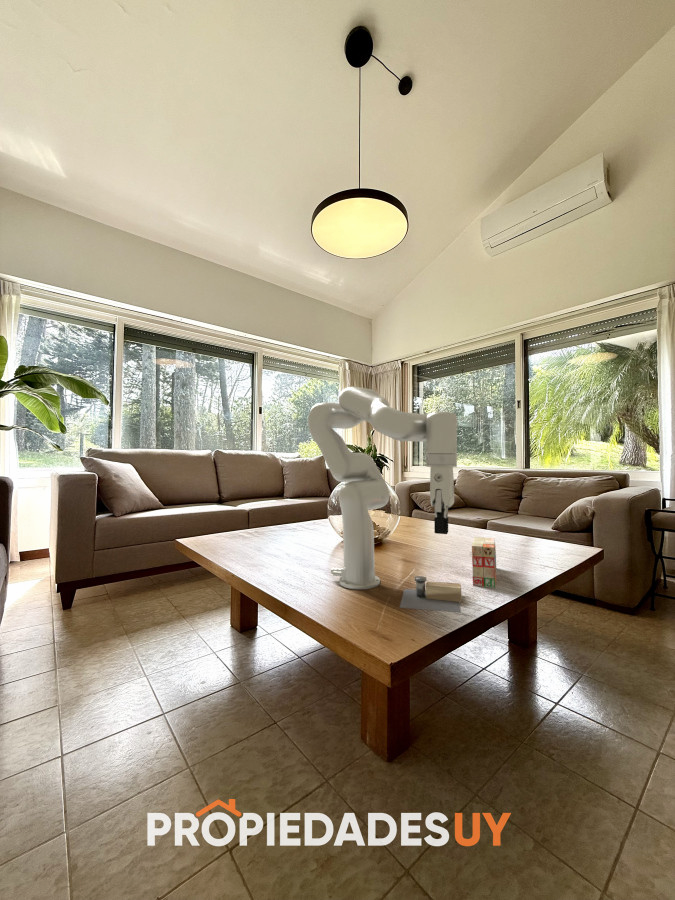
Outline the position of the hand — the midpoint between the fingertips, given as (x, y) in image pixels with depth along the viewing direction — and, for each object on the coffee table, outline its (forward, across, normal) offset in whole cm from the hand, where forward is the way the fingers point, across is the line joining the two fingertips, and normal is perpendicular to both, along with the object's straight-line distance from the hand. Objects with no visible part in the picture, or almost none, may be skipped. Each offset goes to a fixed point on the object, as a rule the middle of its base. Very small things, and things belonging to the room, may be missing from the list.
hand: (441, 533), depth 95 cm
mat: (+20, +5, +4) cm, 20 cm away
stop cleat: (+19, +10, 0) cm, 22 cm away
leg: (+19, +7, 0) cm, 20 cm away
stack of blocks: (+20, +31, -10) cm, 38 cm away
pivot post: (+19, +6, +6) cm, 21 cm away
